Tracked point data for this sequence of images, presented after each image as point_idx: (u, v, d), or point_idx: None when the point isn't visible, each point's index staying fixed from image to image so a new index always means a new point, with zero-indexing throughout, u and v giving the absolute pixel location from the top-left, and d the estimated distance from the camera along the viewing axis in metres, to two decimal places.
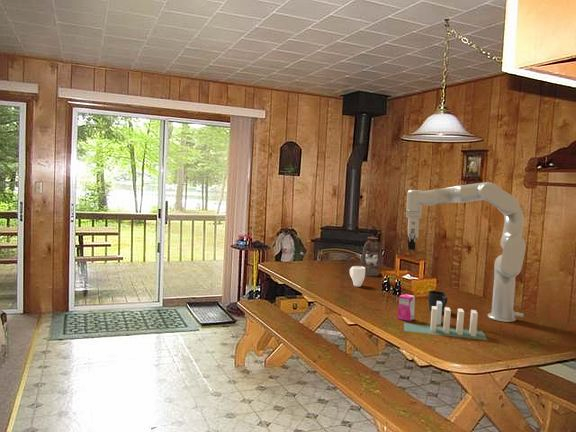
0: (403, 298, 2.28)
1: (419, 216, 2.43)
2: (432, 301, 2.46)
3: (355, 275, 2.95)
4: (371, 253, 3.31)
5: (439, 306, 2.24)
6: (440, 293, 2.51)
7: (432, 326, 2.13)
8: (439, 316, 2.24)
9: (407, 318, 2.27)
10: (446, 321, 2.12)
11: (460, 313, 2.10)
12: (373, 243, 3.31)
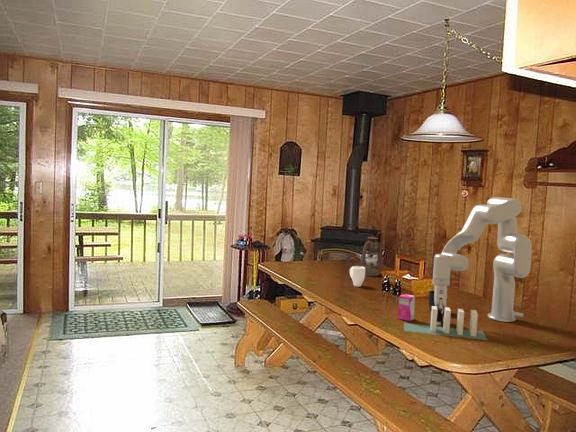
0: (403, 298, 2.28)
1: (447, 284, 2.22)
2: (432, 301, 2.46)
3: (355, 275, 2.95)
4: (371, 253, 3.31)
5: None
6: None
7: (432, 326, 2.13)
8: None
9: (407, 318, 2.27)
10: (446, 321, 2.12)
11: (460, 313, 2.10)
12: (373, 243, 3.31)
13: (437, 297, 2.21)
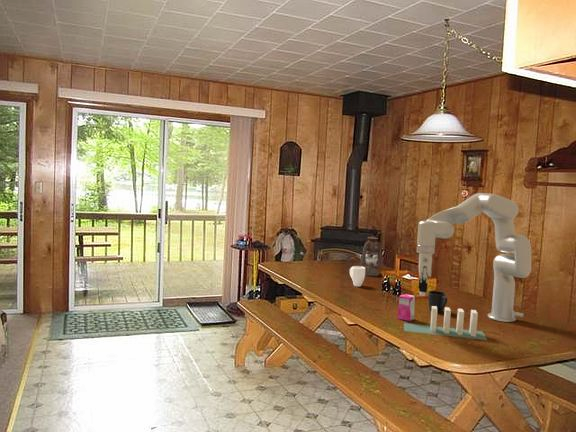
0: (403, 298, 2.28)
1: (432, 252, 2.11)
2: (432, 301, 2.46)
3: (355, 275, 2.95)
4: (371, 253, 3.31)
5: None
6: (440, 293, 2.51)
7: (432, 326, 2.13)
8: None
9: (407, 318, 2.27)
10: (446, 321, 2.12)
11: (460, 313, 2.10)
12: (373, 243, 3.31)
13: (421, 266, 2.10)
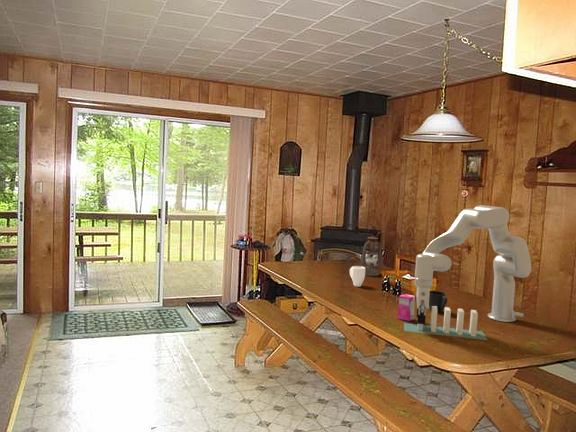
0: (403, 298, 2.28)
1: (430, 285, 2.12)
2: (432, 301, 2.46)
3: (355, 275, 2.95)
4: (371, 253, 3.31)
5: None
6: (440, 293, 2.51)
7: (432, 326, 2.13)
8: None
9: (407, 318, 2.27)
10: (446, 321, 2.12)
11: (460, 313, 2.10)
12: (373, 243, 3.31)
13: (419, 299, 2.11)
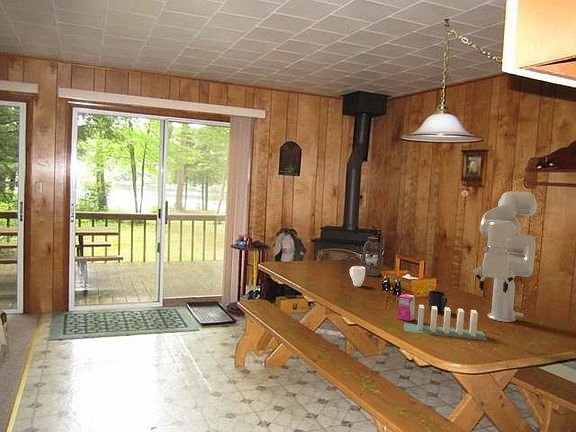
0: (403, 298, 2.28)
1: (491, 252, 2.06)
2: (432, 301, 2.46)
3: (355, 275, 2.95)
4: (371, 253, 3.31)
5: (420, 310, 2.14)
6: (440, 293, 2.51)
7: (432, 326, 2.13)
8: (421, 321, 2.14)
9: (407, 318, 2.27)
10: (446, 321, 2.12)
11: (460, 313, 2.10)
12: (373, 243, 3.31)
13: (482, 264, 2.11)
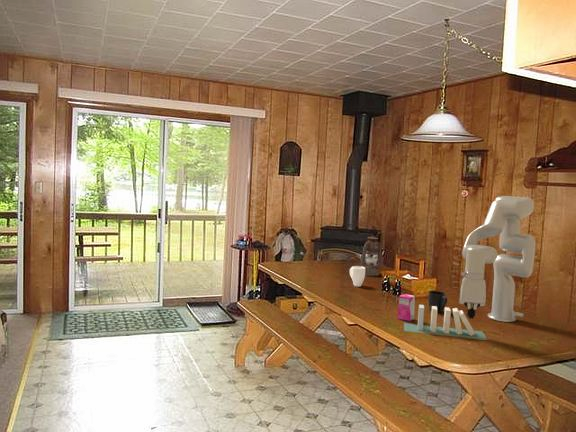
0: (403, 298, 2.28)
1: (469, 278, 2.08)
2: (432, 301, 2.46)
3: (355, 275, 2.95)
4: (371, 253, 3.31)
5: (420, 310, 2.14)
6: (440, 293, 2.51)
7: (432, 326, 2.13)
8: (421, 321, 2.14)
9: (407, 318, 2.27)
10: (446, 321, 2.12)
11: (455, 313, 2.11)
12: (373, 243, 3.31)
13: (460, 289, 2.13)
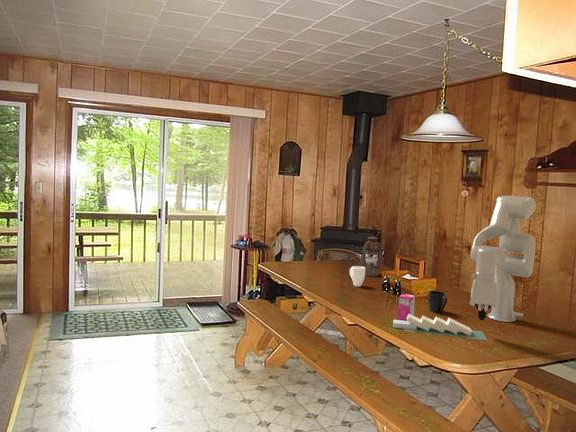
0: (403, 298, 2.28)
1: (479, 279, 2.08)
2: (432, 301, 2.46)
3: (355, 275, 2.95)
4: (371, 253, 3.31)
5: (395, 326, 2.17)
6: (440, 293, 2.51)
7: (423, 327, 2.14)
8: (406, 326, 2.16)
9: None
10: (432, 326, 2.13)
11: (436, 323, 2.13)
12: (373, 243, 3.31)
13: (471, 290, 2.13)
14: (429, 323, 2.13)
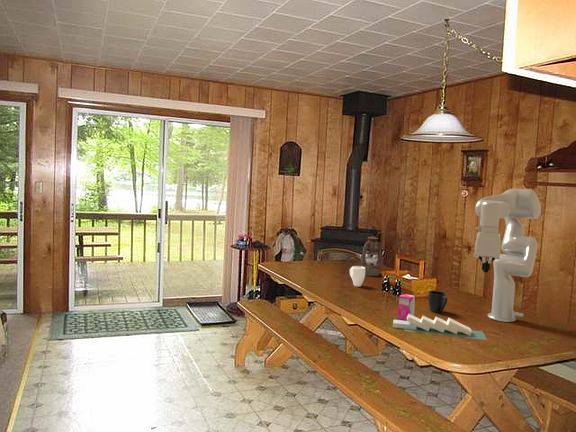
0: (403, 298, 2.28)
1: (483, 231, 2.10)
2: (432, 301, 2.46)
3: (355, 275, 2.95)
4: (371, 253, 3.31)
5: (395, 326, 2.17)
6: (440, 293, 2.51)
7: (423, 327, 2.14)
8: (406, 326, 2.16)
9: None
10: (432, 326, 2.13)
11: (436, 323, 2.13)
12: (373, 243, 3.31)
13: None
14: (429, 323, 2.13)
